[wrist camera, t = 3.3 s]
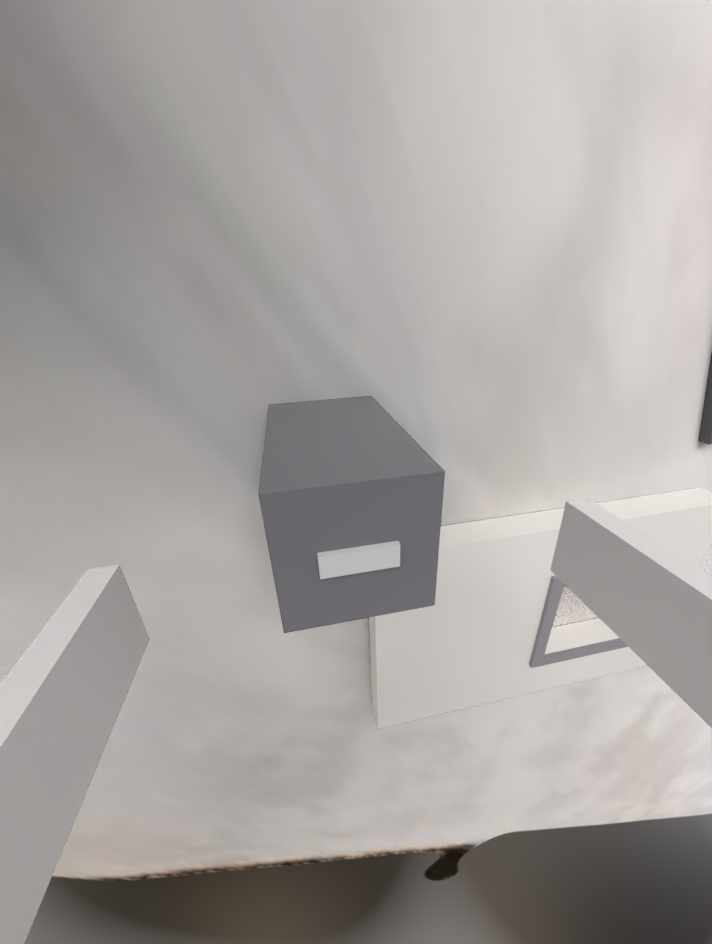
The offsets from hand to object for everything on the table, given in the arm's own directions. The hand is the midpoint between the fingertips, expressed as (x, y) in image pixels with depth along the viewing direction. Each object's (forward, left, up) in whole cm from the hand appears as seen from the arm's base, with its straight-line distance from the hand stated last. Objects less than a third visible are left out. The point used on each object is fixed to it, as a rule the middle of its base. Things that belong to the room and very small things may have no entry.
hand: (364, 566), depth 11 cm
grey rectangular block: (0, 0, -9) cm, 9 cm away
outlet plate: (+14, -14, -9) cm, 21 cm away
